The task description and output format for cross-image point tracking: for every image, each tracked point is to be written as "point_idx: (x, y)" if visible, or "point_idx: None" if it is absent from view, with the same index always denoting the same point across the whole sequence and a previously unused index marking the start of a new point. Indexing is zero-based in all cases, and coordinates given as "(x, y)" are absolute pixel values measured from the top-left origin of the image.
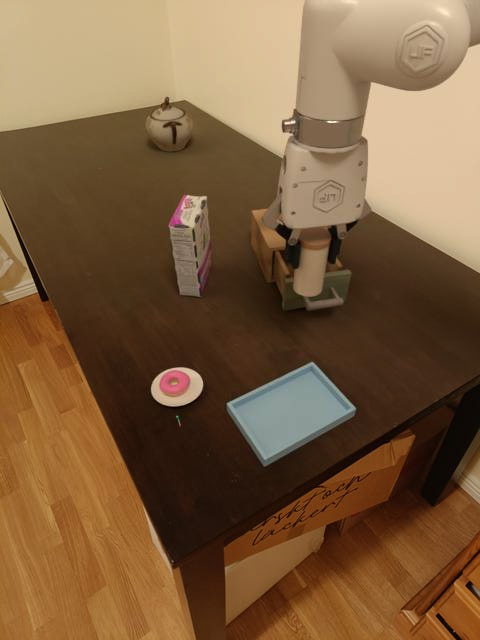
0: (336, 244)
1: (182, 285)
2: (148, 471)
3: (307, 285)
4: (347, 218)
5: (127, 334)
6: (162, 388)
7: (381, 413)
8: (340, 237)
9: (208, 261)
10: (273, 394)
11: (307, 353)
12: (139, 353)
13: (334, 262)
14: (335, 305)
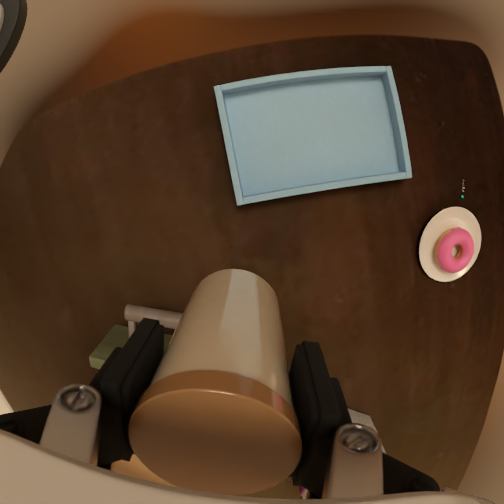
0: (119, 371)
1: (370, 426)
2: (498, 139)
3: (258, 292)
4: (2, 466)
5: (458, 359)
6: (473, 243)
7: (172, 85)
8: (89, 395)
9: None
10: (328, 172)
11: (228, 239)
12: (461, 323)
13: (147, 320)
14: (142, 306)
